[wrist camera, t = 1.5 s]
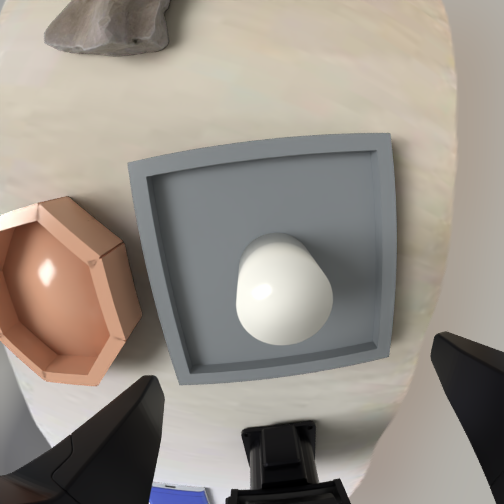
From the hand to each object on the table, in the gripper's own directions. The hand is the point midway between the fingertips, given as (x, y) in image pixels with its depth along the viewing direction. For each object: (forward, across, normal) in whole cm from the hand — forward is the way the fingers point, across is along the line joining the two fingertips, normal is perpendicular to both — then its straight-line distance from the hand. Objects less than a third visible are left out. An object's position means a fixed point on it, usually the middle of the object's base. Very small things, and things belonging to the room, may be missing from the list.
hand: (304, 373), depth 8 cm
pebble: (+10, 0, 0) cm, 10 cm away
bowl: (+11, +16, 0) cm, 19 cm away
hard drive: (+11, +15, +33) cm, 37 cm away
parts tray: (+11, 0, 0) cm, 11 cm away
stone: (+12, +7, -22) cm, 26 cm away
